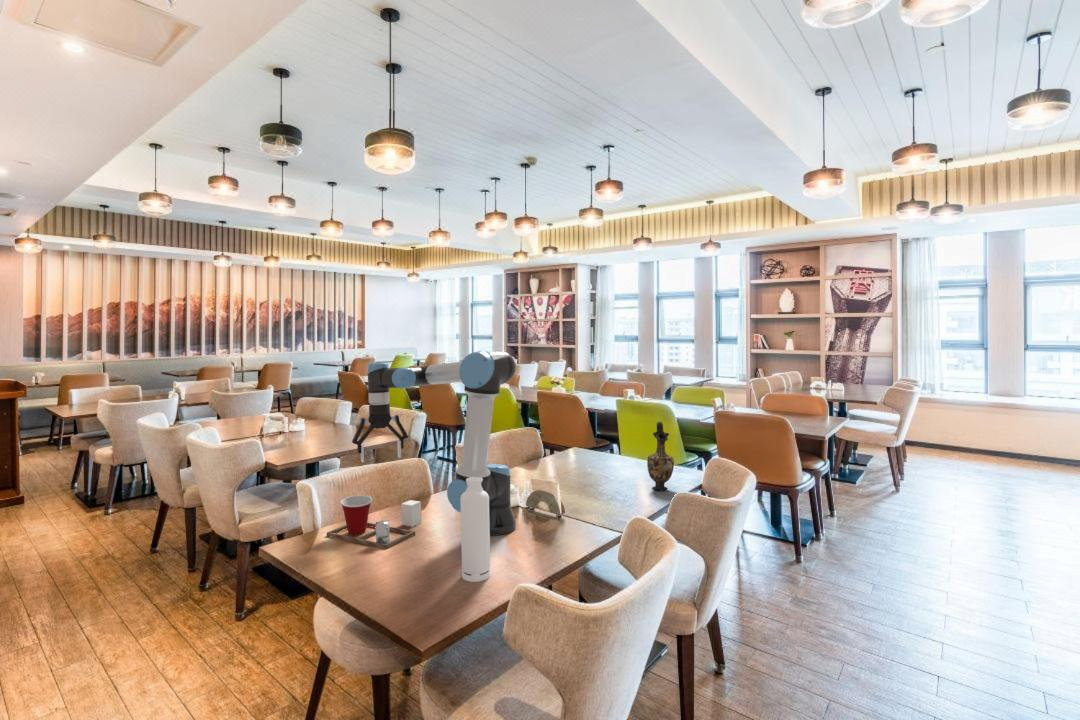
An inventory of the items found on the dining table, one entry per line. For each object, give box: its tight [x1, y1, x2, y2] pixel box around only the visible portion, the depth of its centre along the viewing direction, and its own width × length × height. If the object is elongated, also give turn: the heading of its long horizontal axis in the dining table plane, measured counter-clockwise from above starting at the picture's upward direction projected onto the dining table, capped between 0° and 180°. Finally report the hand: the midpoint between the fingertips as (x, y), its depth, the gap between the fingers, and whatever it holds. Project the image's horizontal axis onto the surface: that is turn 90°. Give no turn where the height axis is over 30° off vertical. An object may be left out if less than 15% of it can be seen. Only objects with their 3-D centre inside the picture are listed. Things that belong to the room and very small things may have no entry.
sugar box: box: [400, 499, 422, 528], centre depth 196 cm, size 5×5×8 cm
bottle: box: [460, 477, 491, 583], centre depth 151 cm, size 8×8×28 cm
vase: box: [646, 421, 675, 492], centre depth 237 cm, size 12×12×30 cm
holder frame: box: [326, 521, 416, 550], centre depth 185 cm, size 28×14×1 cm, turn 63°
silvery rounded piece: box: [374, 519, 391, 544], centre depth 178 cm, size 4×4×7 cm
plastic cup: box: [340, 495, 373, 536], centre depth 188 cm, size 11×11×12 cm
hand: (381, 459), depth 199 cm, fingers open, 13 cm apart
